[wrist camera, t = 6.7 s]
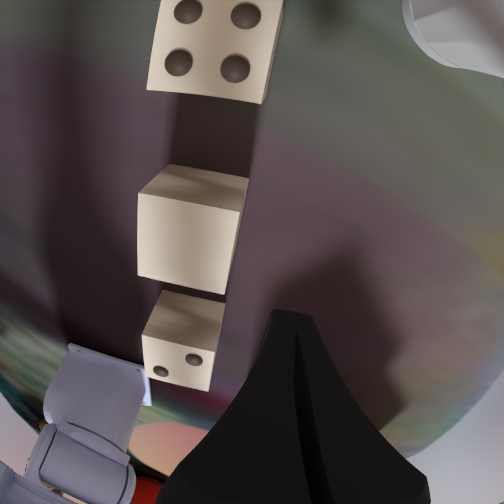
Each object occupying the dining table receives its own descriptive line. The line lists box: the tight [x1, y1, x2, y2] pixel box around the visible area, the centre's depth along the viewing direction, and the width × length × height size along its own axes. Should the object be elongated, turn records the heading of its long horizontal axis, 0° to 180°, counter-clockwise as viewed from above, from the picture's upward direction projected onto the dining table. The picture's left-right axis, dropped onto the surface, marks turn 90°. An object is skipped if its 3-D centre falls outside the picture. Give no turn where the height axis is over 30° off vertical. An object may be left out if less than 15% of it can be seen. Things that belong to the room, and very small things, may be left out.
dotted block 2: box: [142, 290, 226, 391], centre depth 23 cm, size 5×5×5 cm
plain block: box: [137, 164, 249, 295], centre depth 18 cm, size 5×5×5 cm
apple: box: [129, 477, 162, 504], centre depth 50 cm, size 10×10×12 cm
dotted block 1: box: [147, 0, 284, 104], centre depth 13 cm, size 5×5×5 cm
